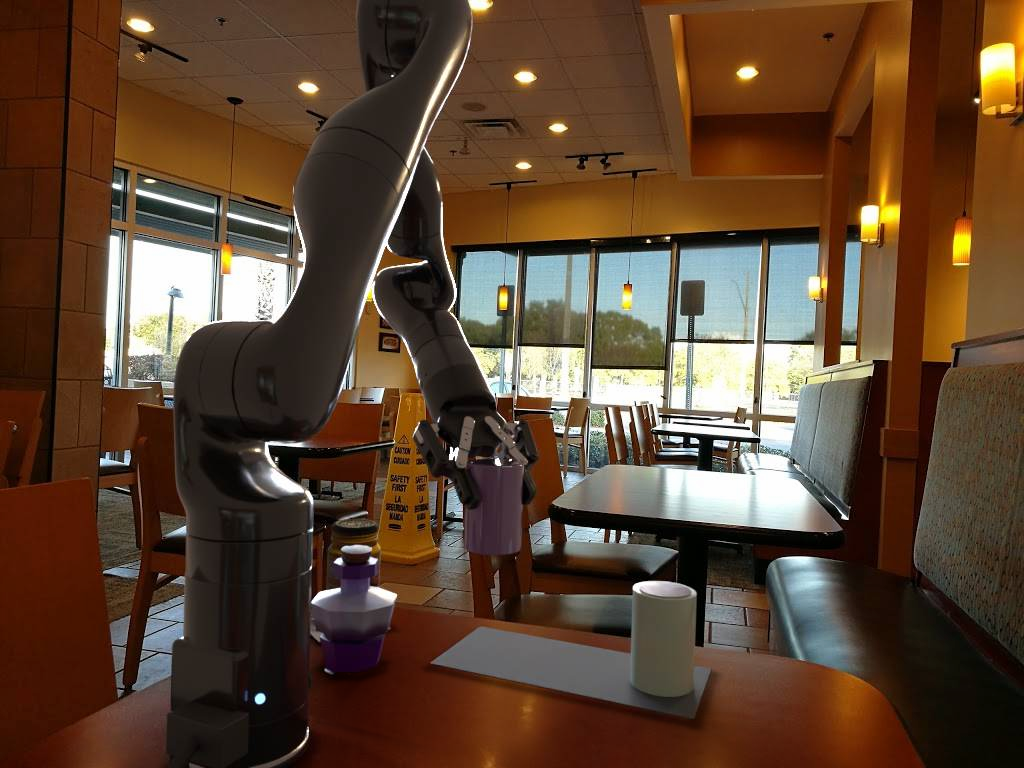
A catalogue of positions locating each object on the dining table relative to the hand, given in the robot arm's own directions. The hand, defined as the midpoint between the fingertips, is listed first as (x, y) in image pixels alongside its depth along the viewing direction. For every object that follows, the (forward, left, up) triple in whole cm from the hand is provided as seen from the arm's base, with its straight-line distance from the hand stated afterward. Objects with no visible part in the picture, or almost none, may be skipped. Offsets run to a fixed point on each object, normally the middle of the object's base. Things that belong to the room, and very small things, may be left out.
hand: (502, 502), depth 75 cm
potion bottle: (-8, +12, -17) cm, 22 cm away
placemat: (+1, -8, -16) cm, 18 cm away
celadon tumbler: (+1, -17, -16) cm, 23 cm away
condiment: (+1, +20, -17) cm, 26 cm away
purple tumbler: (+1, +1, -5) cm, 5 cm away
